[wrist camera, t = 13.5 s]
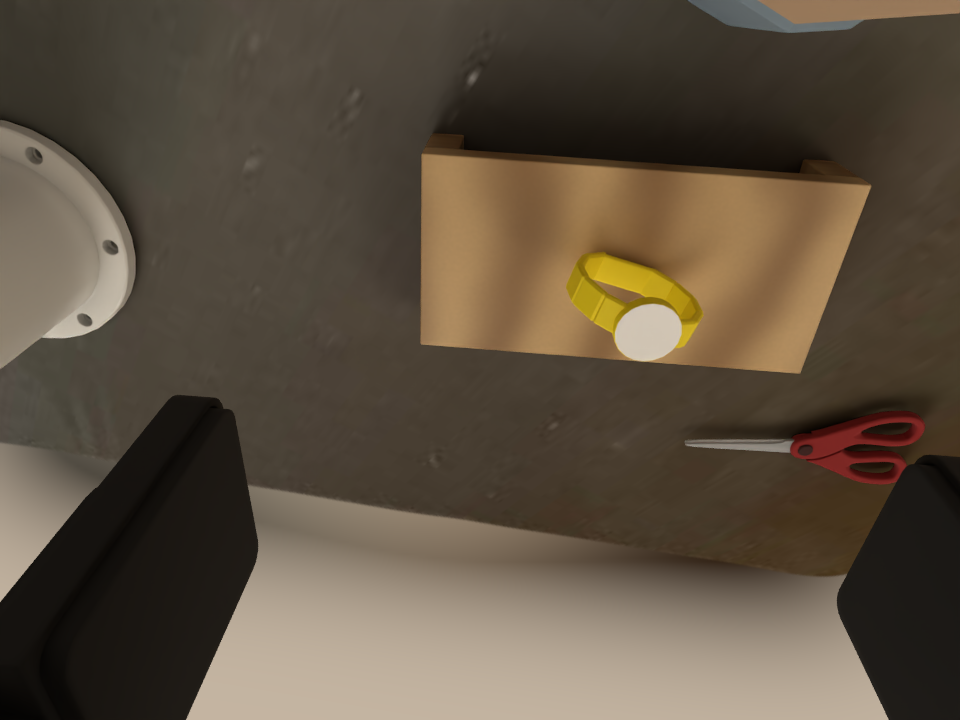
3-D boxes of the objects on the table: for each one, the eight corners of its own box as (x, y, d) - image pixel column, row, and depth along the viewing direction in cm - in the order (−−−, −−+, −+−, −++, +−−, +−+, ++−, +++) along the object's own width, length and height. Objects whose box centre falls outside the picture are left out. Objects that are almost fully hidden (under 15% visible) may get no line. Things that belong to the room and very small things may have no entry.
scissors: (894, 476, 42) (901, 487, 41) (676, 469, 43) (679, 480, 42) (923, 408, 39) (932, 419, 38) (689, 403, 40) (693, 412, 39)
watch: (556, 277, 32) (562, 338, 27) (579, 226, 30) (589, 280, 25) (668, 315, 32) (694, 381, 27) (695, 267, 31) (728, 327, 26)
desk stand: (429, 309, 38) (420, 344, 34) (432, 132, 32) (421, 153, 29) (775, 336, 37) (800, 374, 34) (835, 160, 32) (872, 185, 28)
